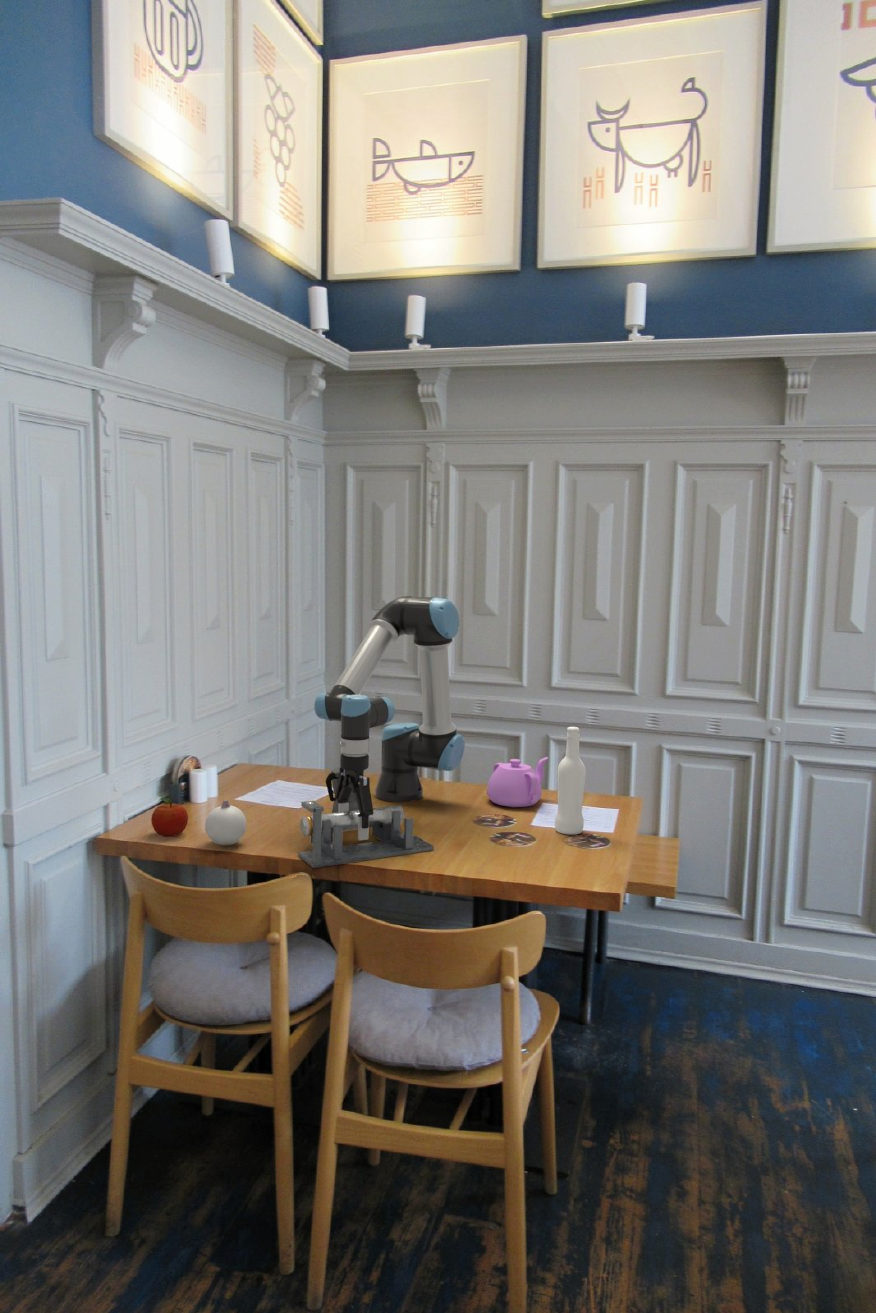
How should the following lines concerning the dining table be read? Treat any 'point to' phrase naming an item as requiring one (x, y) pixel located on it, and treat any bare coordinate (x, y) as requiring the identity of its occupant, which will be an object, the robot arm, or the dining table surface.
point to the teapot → (515, 784)
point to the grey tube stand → (341, 854)
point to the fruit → (169, 819)
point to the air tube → (352, 819)
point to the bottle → (570, 787)
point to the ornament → (225, 824)
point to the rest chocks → (378, 832)
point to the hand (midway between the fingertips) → (352, 833)
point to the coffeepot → (352, 798)
